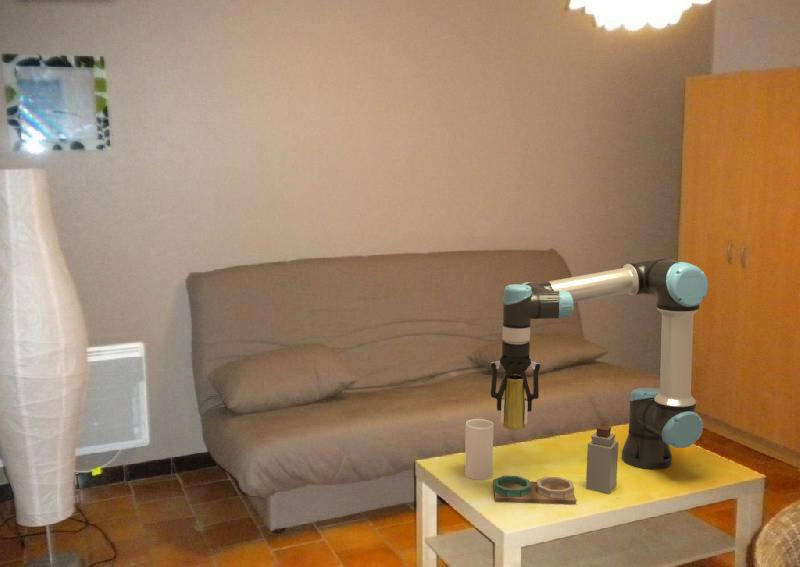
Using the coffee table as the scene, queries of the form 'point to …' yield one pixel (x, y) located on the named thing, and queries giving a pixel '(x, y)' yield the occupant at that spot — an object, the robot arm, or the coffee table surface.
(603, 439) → the perfume bottle
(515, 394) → the vase
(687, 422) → the robot arm
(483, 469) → the cup
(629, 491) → the coffee table surface
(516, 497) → the board
